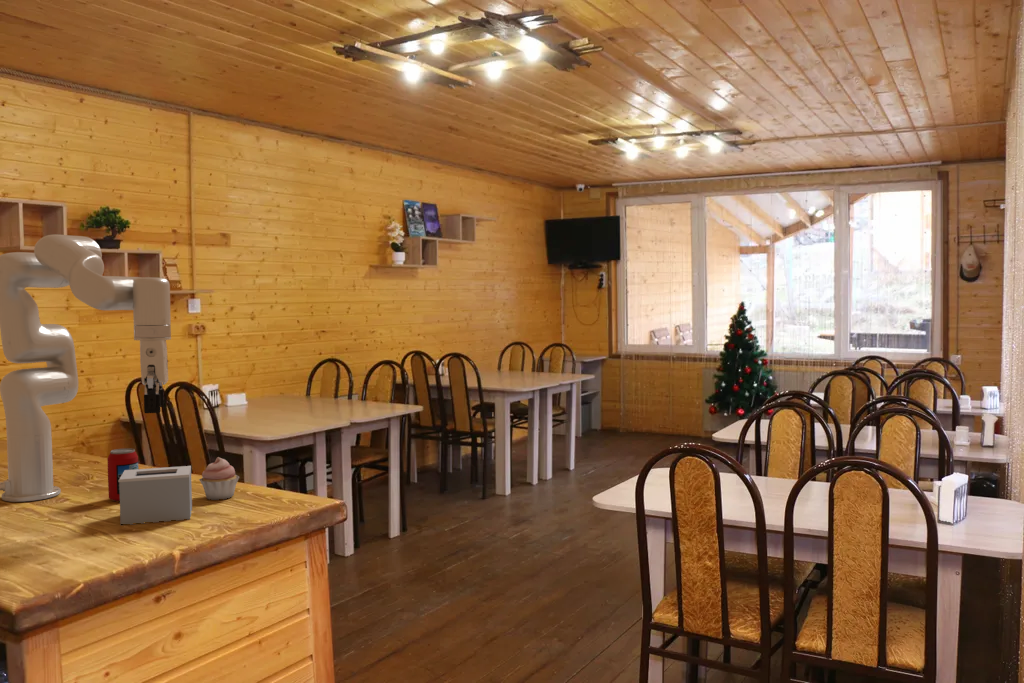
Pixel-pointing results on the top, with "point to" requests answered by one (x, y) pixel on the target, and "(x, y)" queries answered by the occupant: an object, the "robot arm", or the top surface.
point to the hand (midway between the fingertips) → (154, 409)
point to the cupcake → (219, 480)
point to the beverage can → (119, 469)
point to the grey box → (155, 494)
